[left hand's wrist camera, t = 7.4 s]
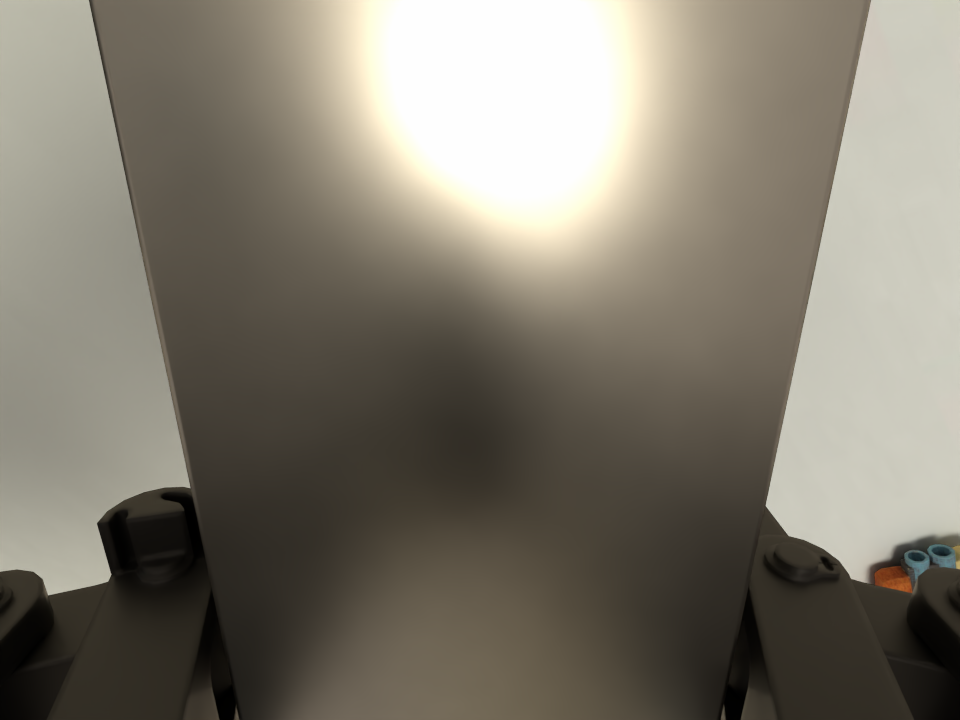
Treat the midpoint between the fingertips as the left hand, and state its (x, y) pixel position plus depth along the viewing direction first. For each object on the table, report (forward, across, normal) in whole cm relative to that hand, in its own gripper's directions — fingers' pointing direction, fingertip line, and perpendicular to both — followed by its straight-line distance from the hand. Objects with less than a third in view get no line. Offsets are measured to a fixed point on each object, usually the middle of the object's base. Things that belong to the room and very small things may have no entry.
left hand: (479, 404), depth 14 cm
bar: (+1, 0, -8) cm, 8 cm away
